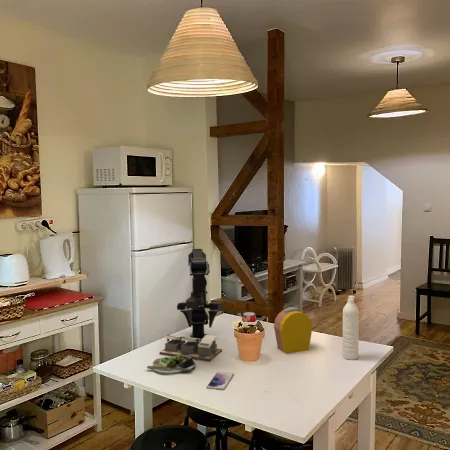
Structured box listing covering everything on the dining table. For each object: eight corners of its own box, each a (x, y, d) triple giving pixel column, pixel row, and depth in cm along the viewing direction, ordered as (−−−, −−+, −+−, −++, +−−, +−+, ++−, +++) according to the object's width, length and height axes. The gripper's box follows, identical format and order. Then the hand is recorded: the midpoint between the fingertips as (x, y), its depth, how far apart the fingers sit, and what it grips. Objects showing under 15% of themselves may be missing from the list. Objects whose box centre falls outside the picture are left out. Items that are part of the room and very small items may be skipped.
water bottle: (357, 360, 192) (358, 300, 190) (341, 359, 194) (342, 299, 192) (359, 353, 200) (359, 296, 198) (343, 352, 202) (343, 295, 200)
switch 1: (173, 337, 211) (174, 335, 211) (183, 338, 209) (183, 336, 209) (165, 338, 204) (165, 335, 204) (175, 339, 202) (175, 336, 202)
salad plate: (148, 379, 177) (148, 367, 176) (144, 362, 194) (144, 352, 194) (199, 373, 182) (198, 362, 181) (190, 357, 199) (190, 347, 199)
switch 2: (206, 336, 205) (205, 334, 204) (216, 338, 203) (216, 335, 202) (198, 347, 198) (197, 344, 197) (209, 348, 196) (208, 346, 195)
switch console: (174, 345, 214) (173, 330, 214) (222, 351, 205) (221, 336, 204) (159, 354, 202) (159, 339, 202) (209, 361, 193) (209, 346, 193)
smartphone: (205, 387, 167) (217, 371, 182) (205, 389, 167) (217, 373, 182) (224, 389, 166) (234, 372, 180) (224, 391, 166) (234, 374, 180)
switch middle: (189, 339, 208) (189, 337, 208) (199, 340, 206) (200, 338, 206) (181, 340, 201) (181, 337, 201) (191, 341, 199) (191, 339, 199)
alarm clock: (302, 344, 213) (302, 304, 212) (312, 349, 206) (312, 308, 204) (273, 348, 208) (273, 307, 207) (282, 354, 200) (281, 312, 199)
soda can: (257, 340, 219) (256, 315, 218) (242, 340, 219) (241, 315, 218) (256, 336, 226) (256, 311, 225) (241, 336, 226) (241, 311, 225)
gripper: (170, 290, 191) (170, 329, 190) (211, 290, 184) (212, 330, 183) (182, 289, 201) (183, 325, 200) (222, 288, 194) (223, 326, 193)
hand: (200, 327), depth 194 cm, fingers open, 9 cm apart
